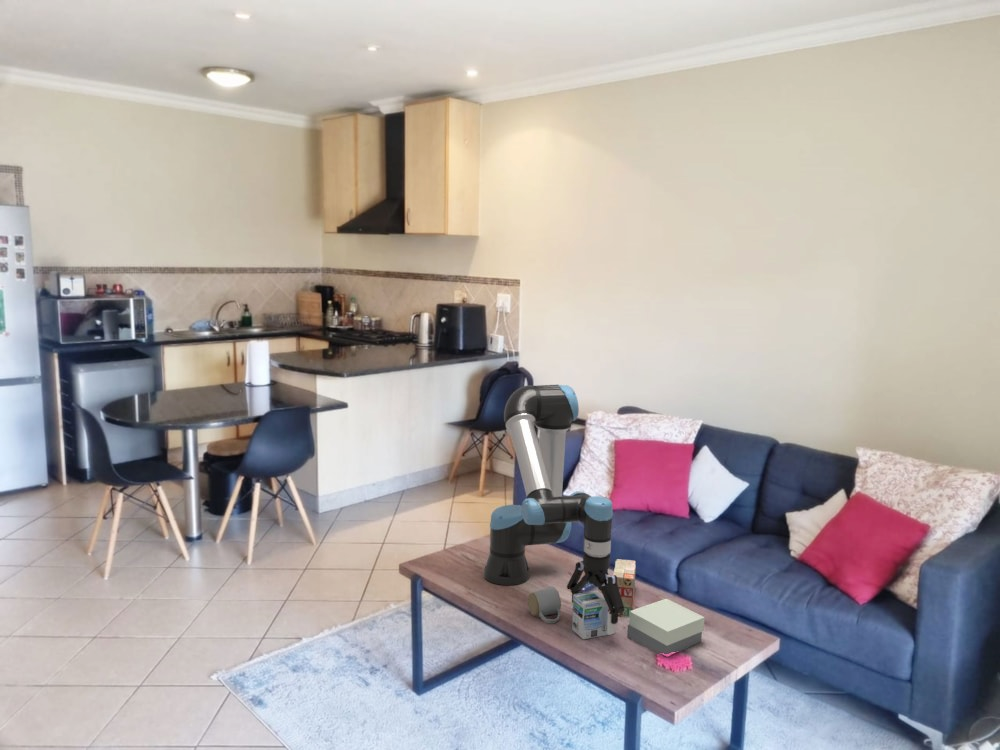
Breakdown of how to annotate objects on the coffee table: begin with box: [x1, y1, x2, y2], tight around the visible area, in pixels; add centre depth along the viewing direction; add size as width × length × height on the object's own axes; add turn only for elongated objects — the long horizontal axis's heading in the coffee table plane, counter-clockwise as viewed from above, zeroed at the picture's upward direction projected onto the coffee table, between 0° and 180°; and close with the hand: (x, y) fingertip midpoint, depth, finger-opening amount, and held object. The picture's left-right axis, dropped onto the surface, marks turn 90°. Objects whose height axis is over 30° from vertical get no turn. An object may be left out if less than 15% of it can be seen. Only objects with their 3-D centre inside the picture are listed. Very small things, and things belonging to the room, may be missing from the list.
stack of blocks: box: [612, 558, 637, 617], centre depth 233 cm, size 21×6×12 cm, turn 168°
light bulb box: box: [571, 589, 615, 640], centre depth 212 cm, size 11×7×11 cm, turn 114°
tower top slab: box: [628, 598, 706, 646], centre depth 209 cm, size 14×15×4 cm
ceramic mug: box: [527, 586, 562, 624], centre depth 221 cm, size 11×8×8 cm
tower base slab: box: [626, 624, 703, 654], centre depth 209 cm, size 14×15×4 cm
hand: (593, 624), depth 213 cm, fingers open, 13 cm apart
